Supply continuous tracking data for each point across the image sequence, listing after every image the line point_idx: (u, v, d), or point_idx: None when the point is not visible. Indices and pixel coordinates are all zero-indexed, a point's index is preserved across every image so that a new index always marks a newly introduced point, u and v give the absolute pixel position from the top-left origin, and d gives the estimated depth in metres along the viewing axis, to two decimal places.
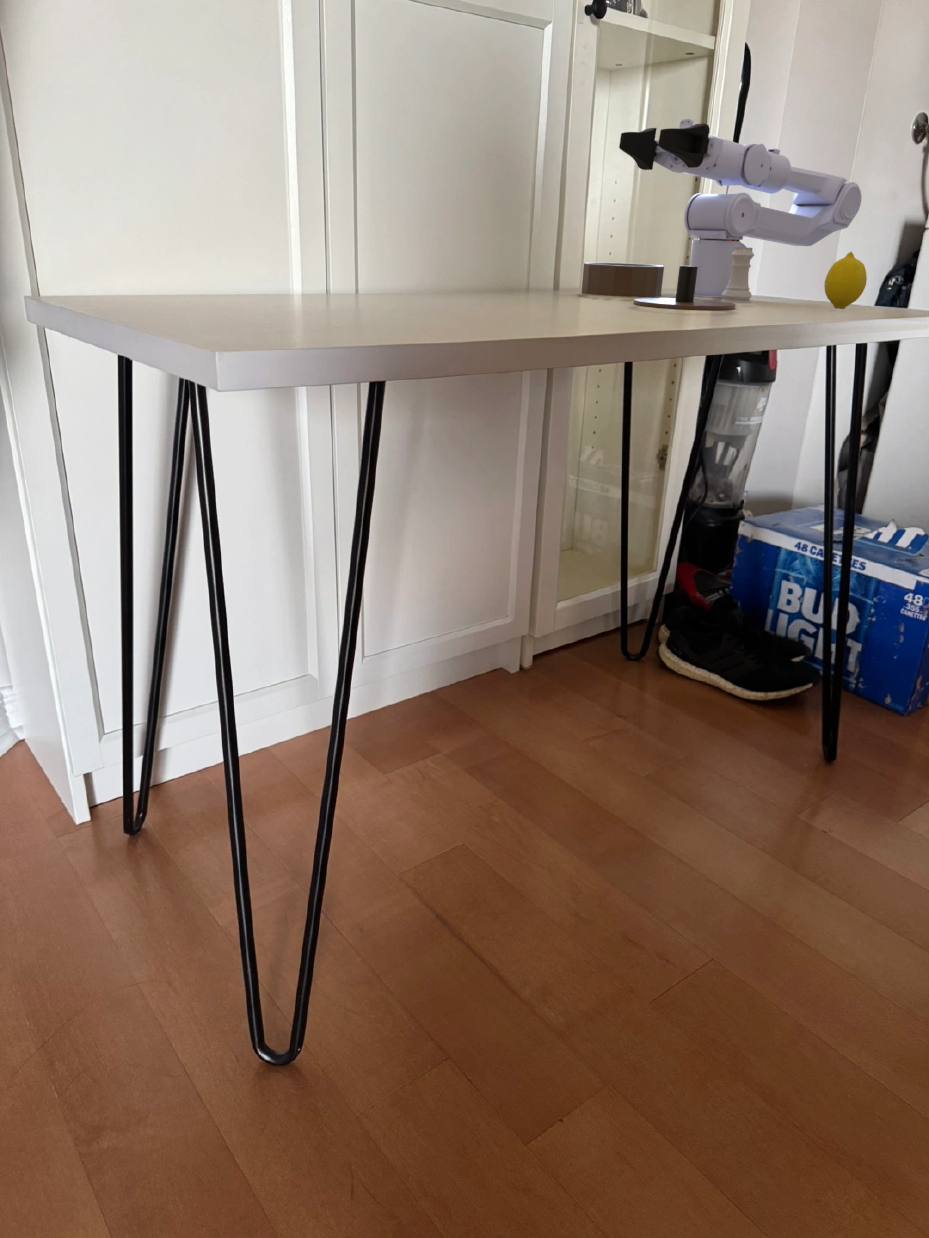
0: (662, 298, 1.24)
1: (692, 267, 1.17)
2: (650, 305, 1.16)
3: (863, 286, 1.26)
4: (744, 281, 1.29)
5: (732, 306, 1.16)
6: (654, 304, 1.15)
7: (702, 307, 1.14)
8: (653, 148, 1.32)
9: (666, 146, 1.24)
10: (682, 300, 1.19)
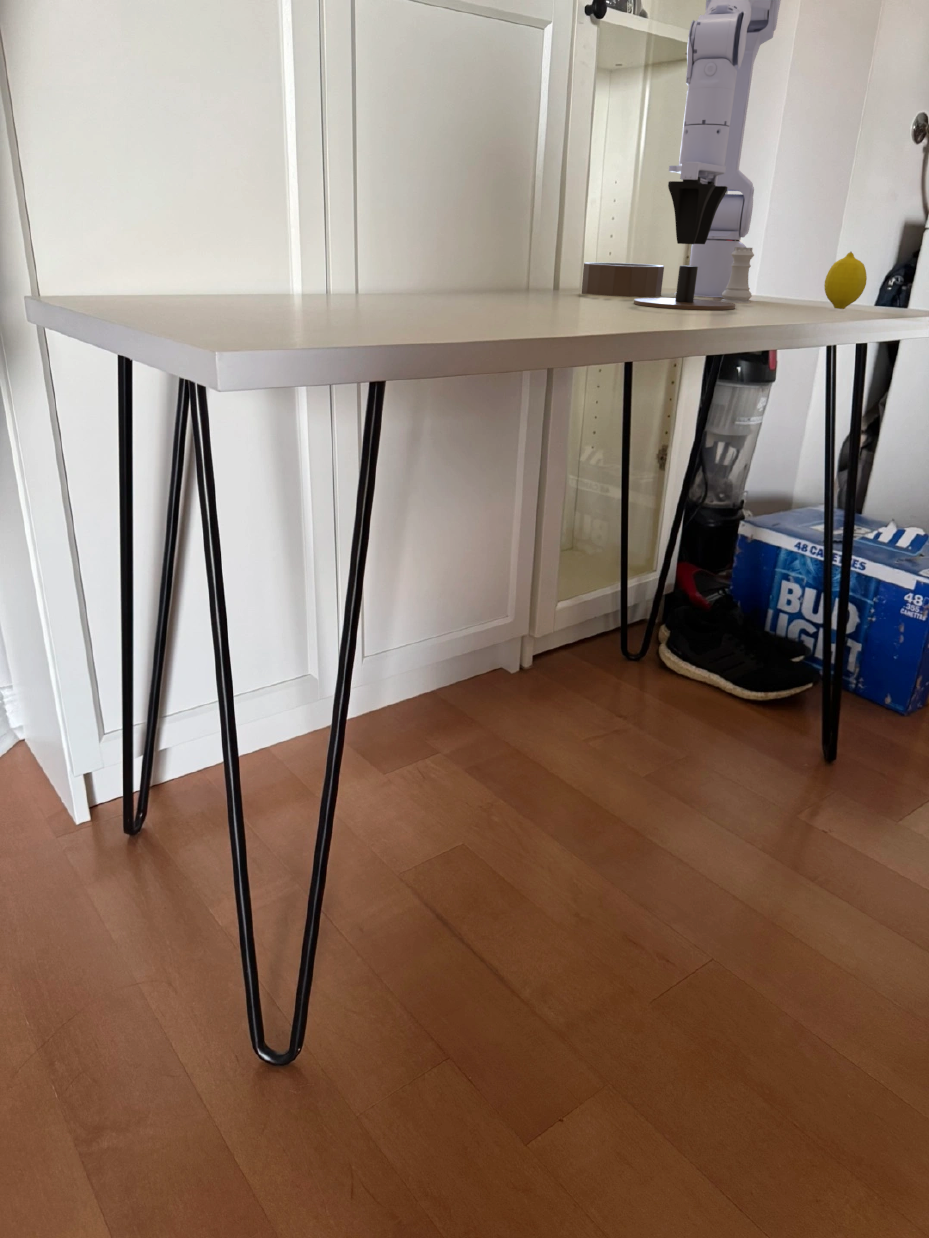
0: (662, 298, 1.24)
1: (692, 267, 1.17)
2: (650, 305, 1.16)
3: (863, 286, 1.26)
4: (744, 281, 1.29)
5: (732, 306, 1.16)
6: (654, 304, 1.15)
7: (702, 307, 1.14)
8: None
9: (693, 236, 1.12)
10: (682, 300, 1.19)
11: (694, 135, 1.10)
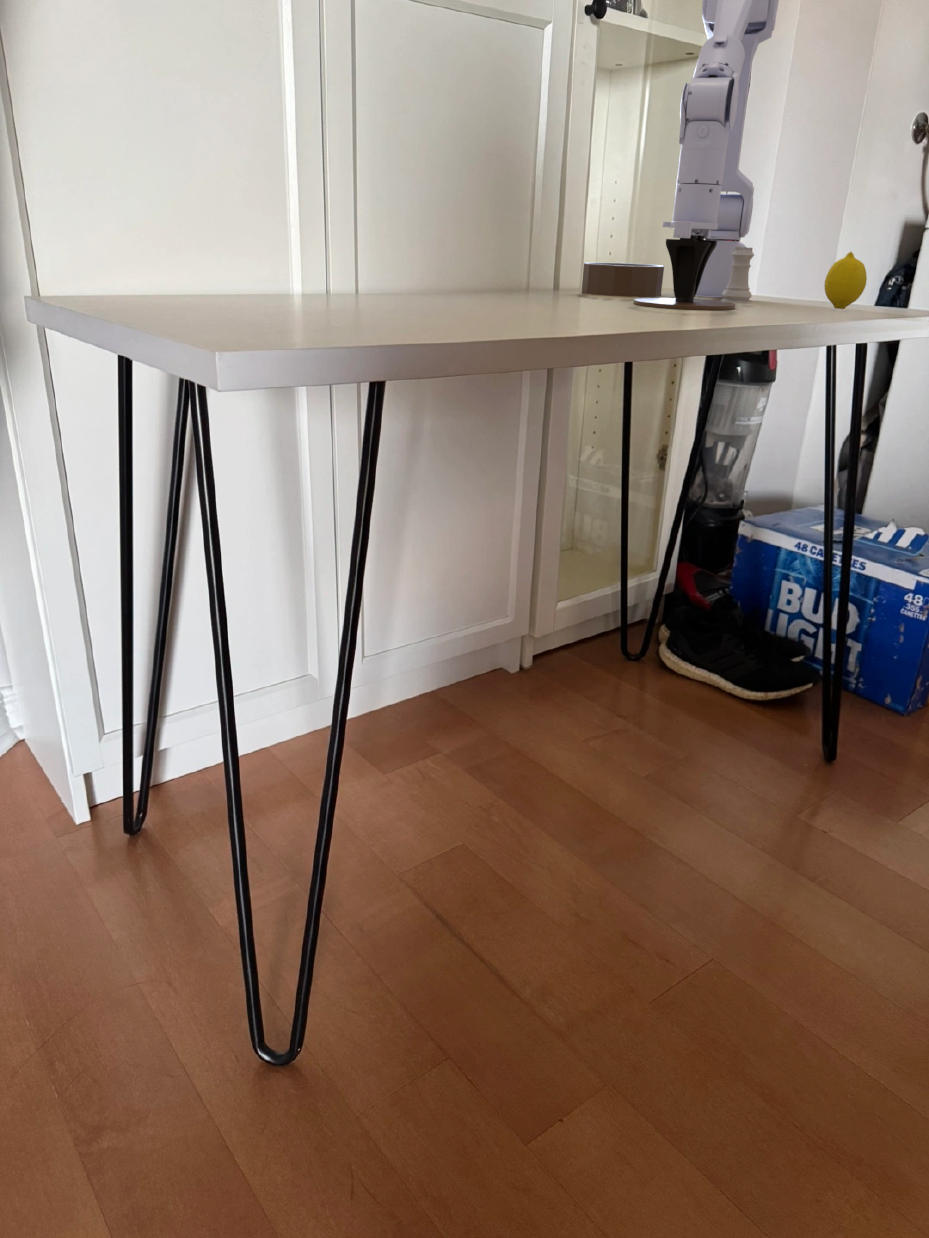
0: (662, 298, 1.24)
1: None
2: (650, 305, 1.16)
3: (863, 286, 1.26)
4: (744, 281, 1.29)
5: (732, 306, 1.16)
6: (654, 304, 1.15)
7: (702, 307, 1.14)
8: None
9: (690, 290, 1.17)
10: (682, 300, 1.19)
11: (687, 194, 1.12)
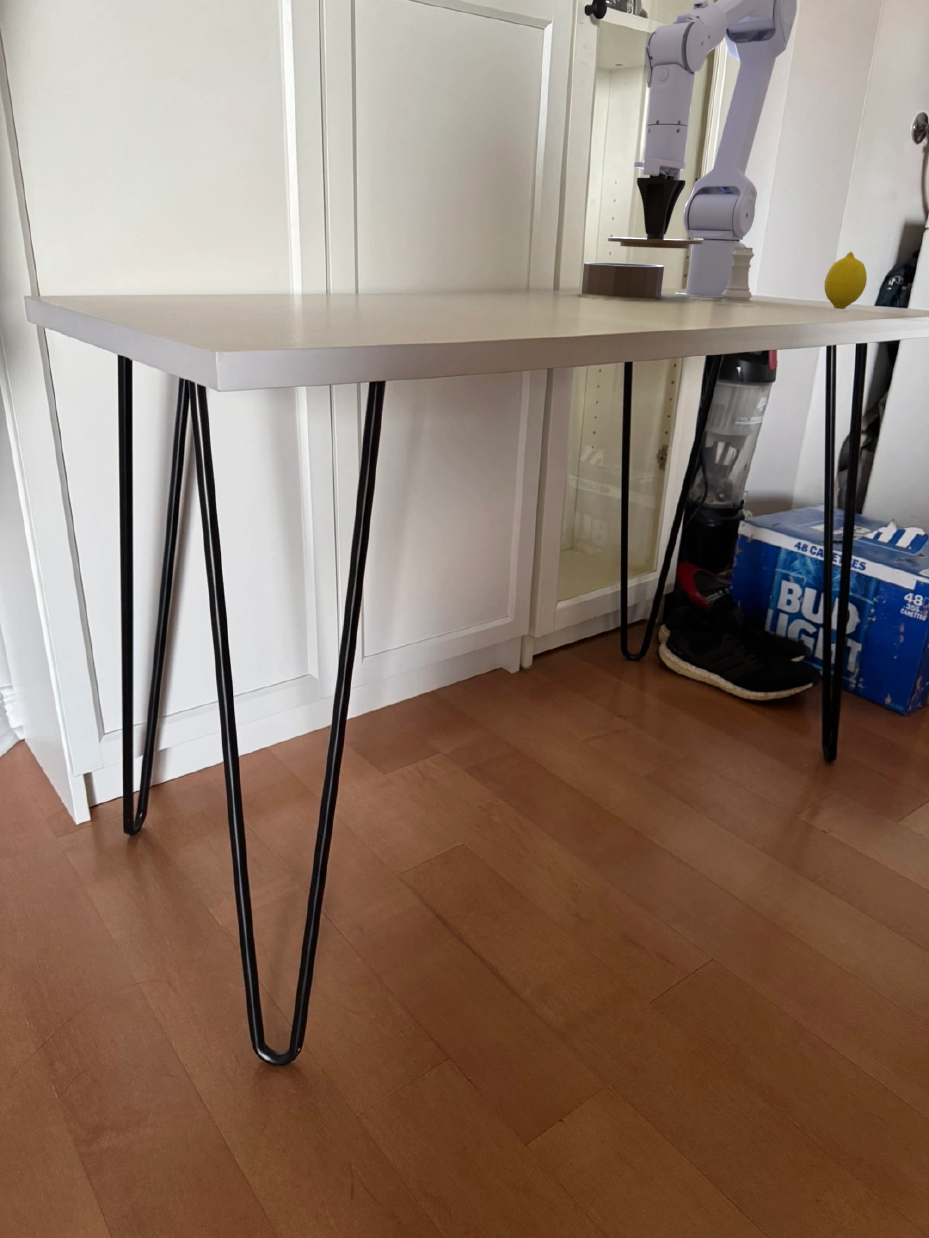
0: None
1: None
2: (622, 240, 1.24)
3: (863, 286, 1.26)
4: (744, 281, 1.29)
5: (699, 241, 1.24)
6: (626, 239, 1.23)
7: (671, 241, 1.21)
8: None
9: (660, 227, 1.25)
10: (653, 237, 1.26)
11: (656, 134, 1.20)
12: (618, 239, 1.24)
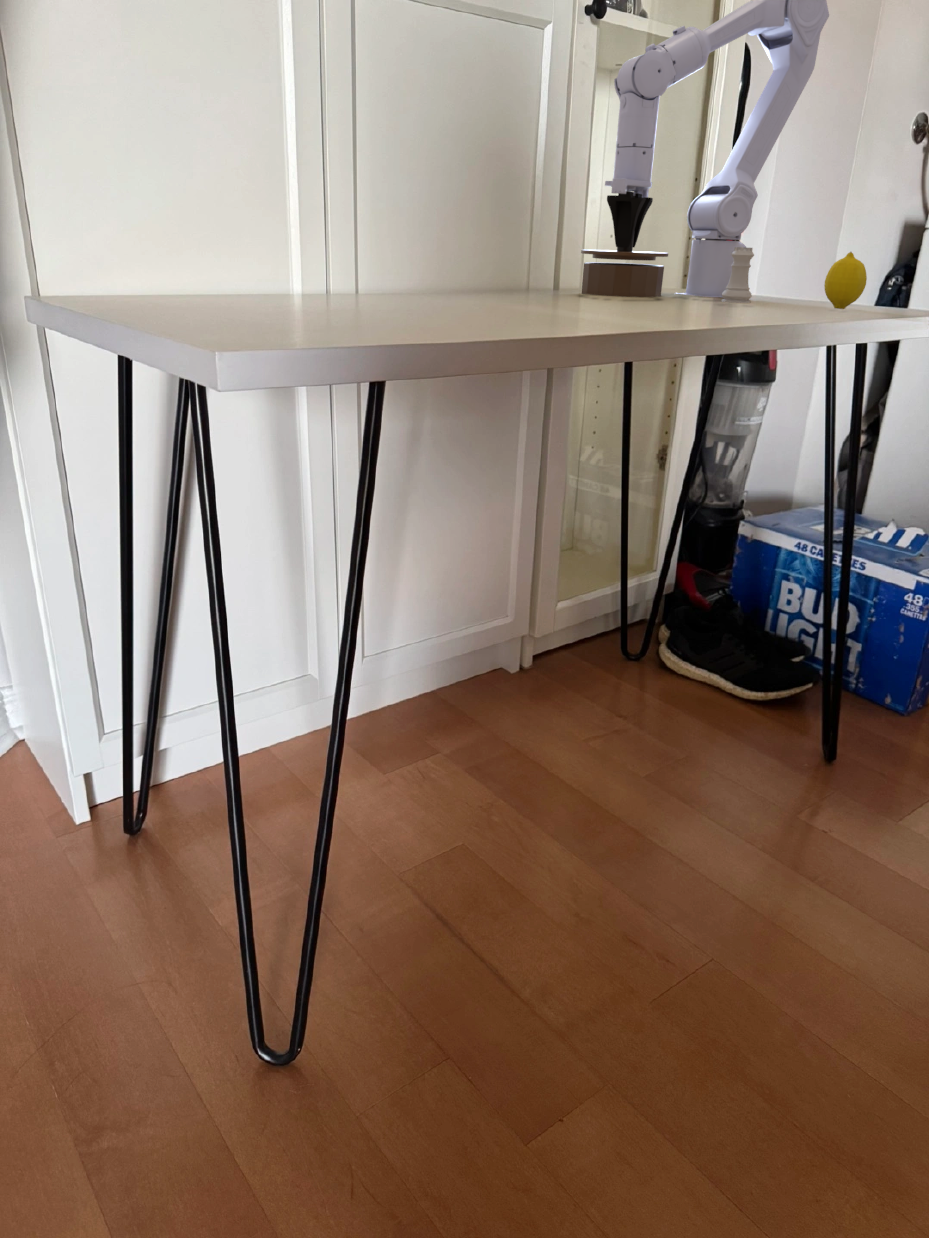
0: None
1: None
2: (593, 253, 1.34)
3: (863, 286, 1.26)
4: (744, 281, 1.29)
5: (664, 254, 1.34)
6: (596, 252, 1.33)
7: (637, 254, 1.32)
8: None
9: (628, 241, 1.35)
10: (622, 250, 1.37)
11: (624, 156, 1.30)
12: (589, 252, 1.35)
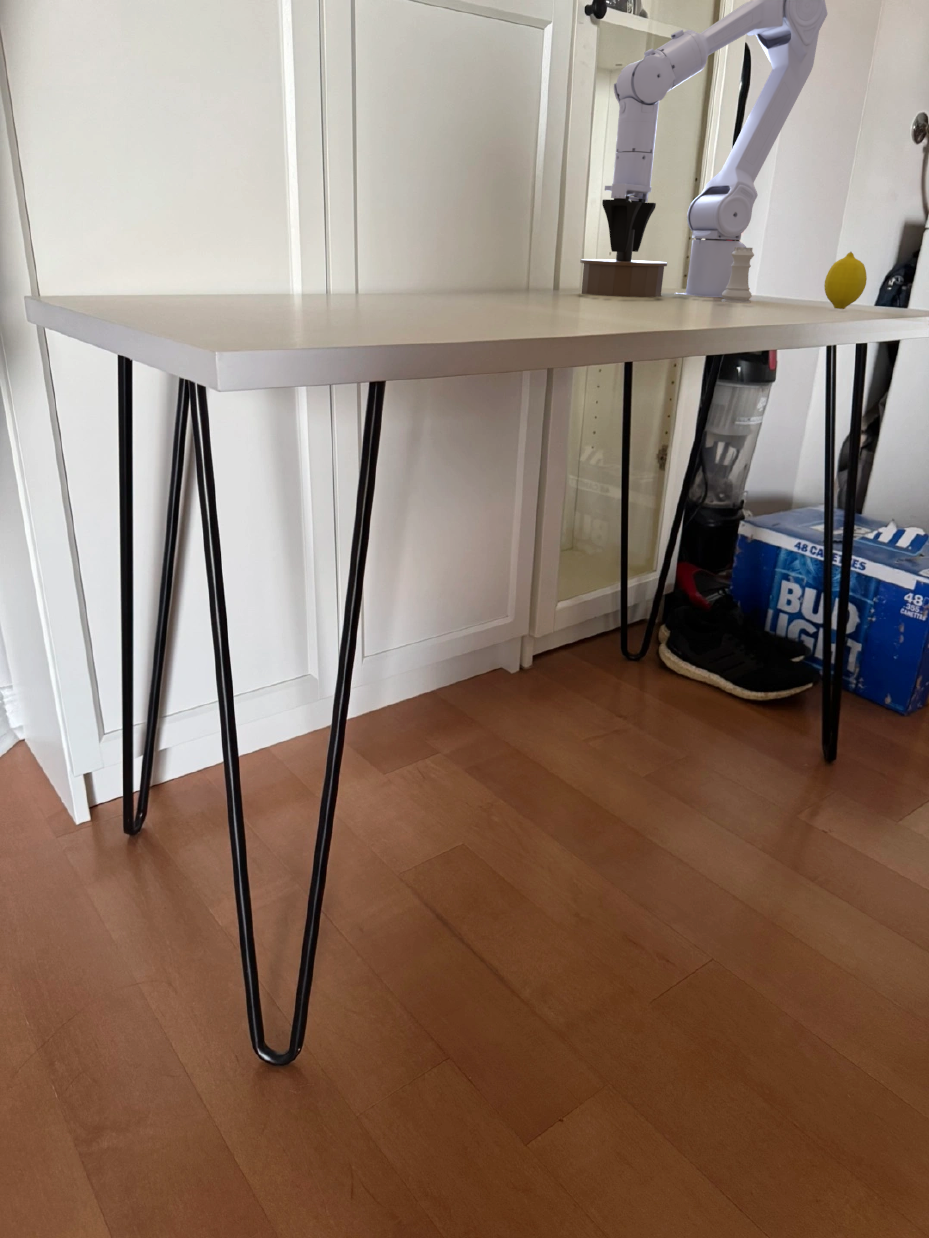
0: (606, 259, 1.43)
1: None
2: (592, 263, 1.35)
3: (863, 286, 1.26)
4: (744, 281, 1.29)
5: (663, 264, 1.35)
6: (596, 262, 1.34)
7: (636, 264, 1.32)
8: None
9: (624, 245, 1.33)
10: (621, 259, 1.37)
11: (624, 161, 1.31)
12: (589, 261, 1.35)
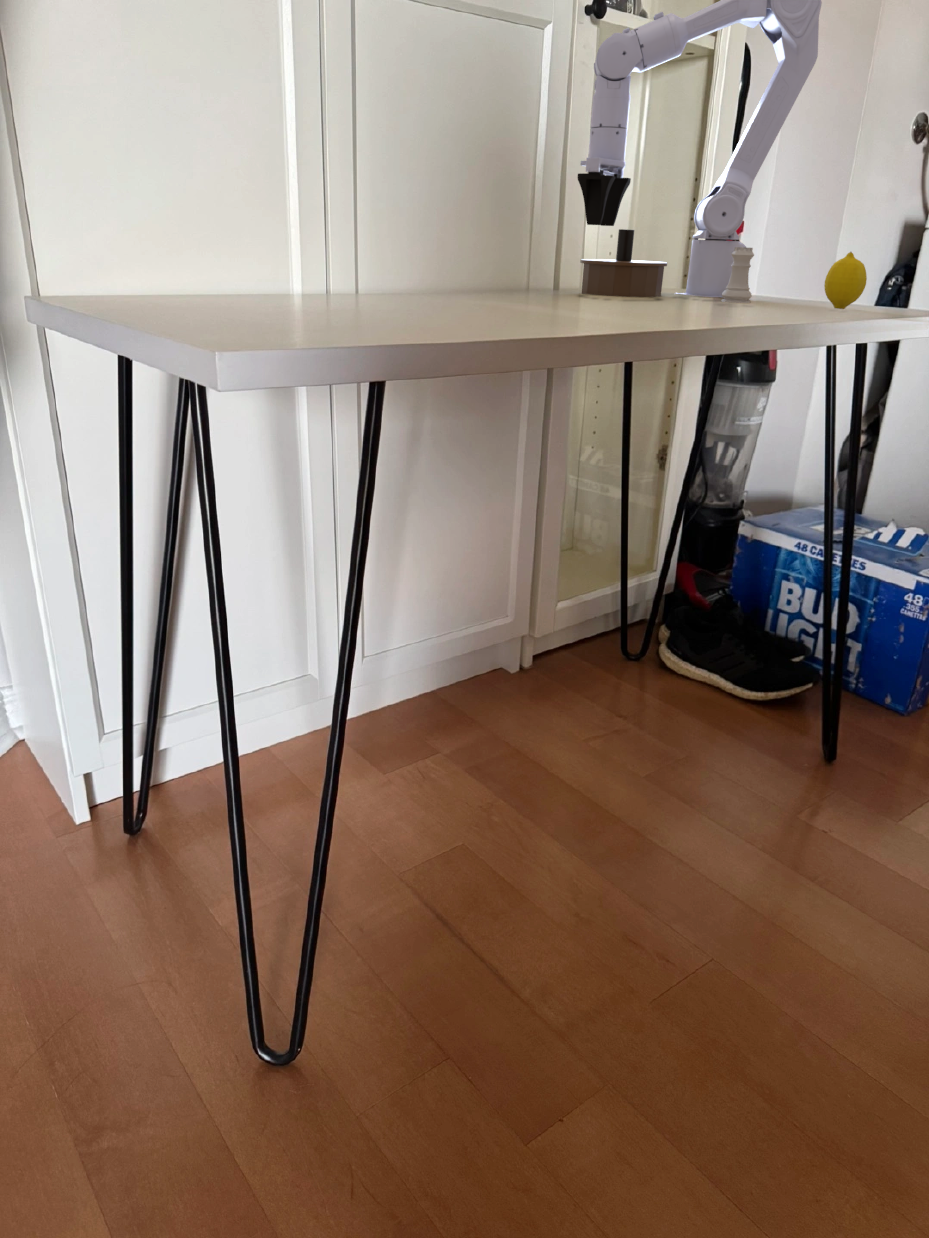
0: (606, 259, 1.43)
1: (629, 230, 1.35)
2: (592, 263, 1.35)
3: (863, 286, 1.26)
4: (744, 281, 1.29)
5: (663, 264, 1.35)
6: (596, 262, 1.34)
7: (636, 264, 1.32)
8: None
9: (599, 219, 1.38)
10: (621, 259, 1.37)
11: (598, 136, 1.35)
12: (589, 261, 1.35)
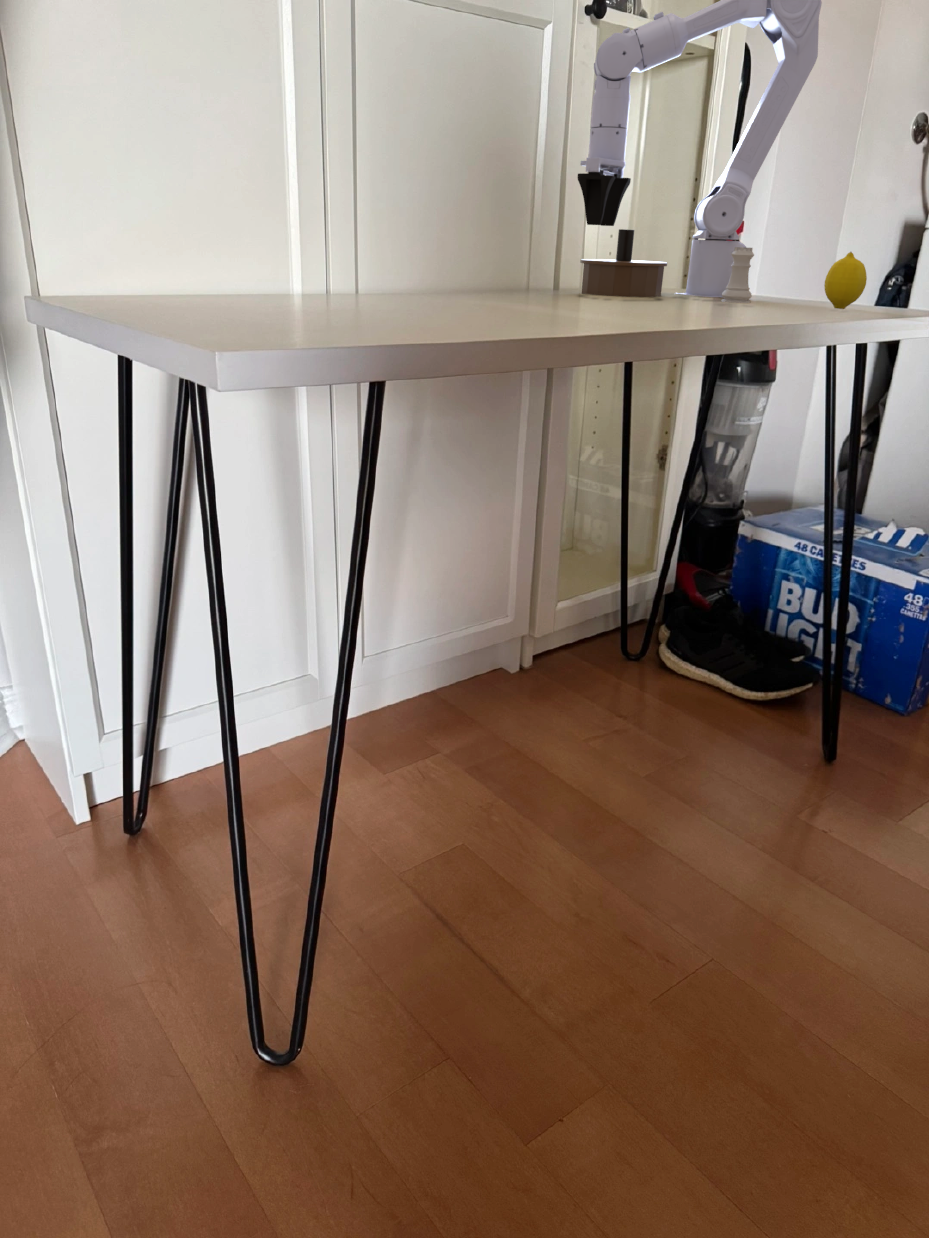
0: (606, 259, 1.43)
1: (629, 230, 1.35)
2: (592, 263, 1.35)
3: (863, 286, 1.26)
4: (744, 281, 1.29)
5: (663, 264, 1.35)
6: (596, 262, 1.34)
7: (636, 264, 1.32)
8: None
9: (599, 219, 1.38)
10: (621, 259, 1.37)
11: (598, 136, 1.35)
12: (589, 261, 1.35)
